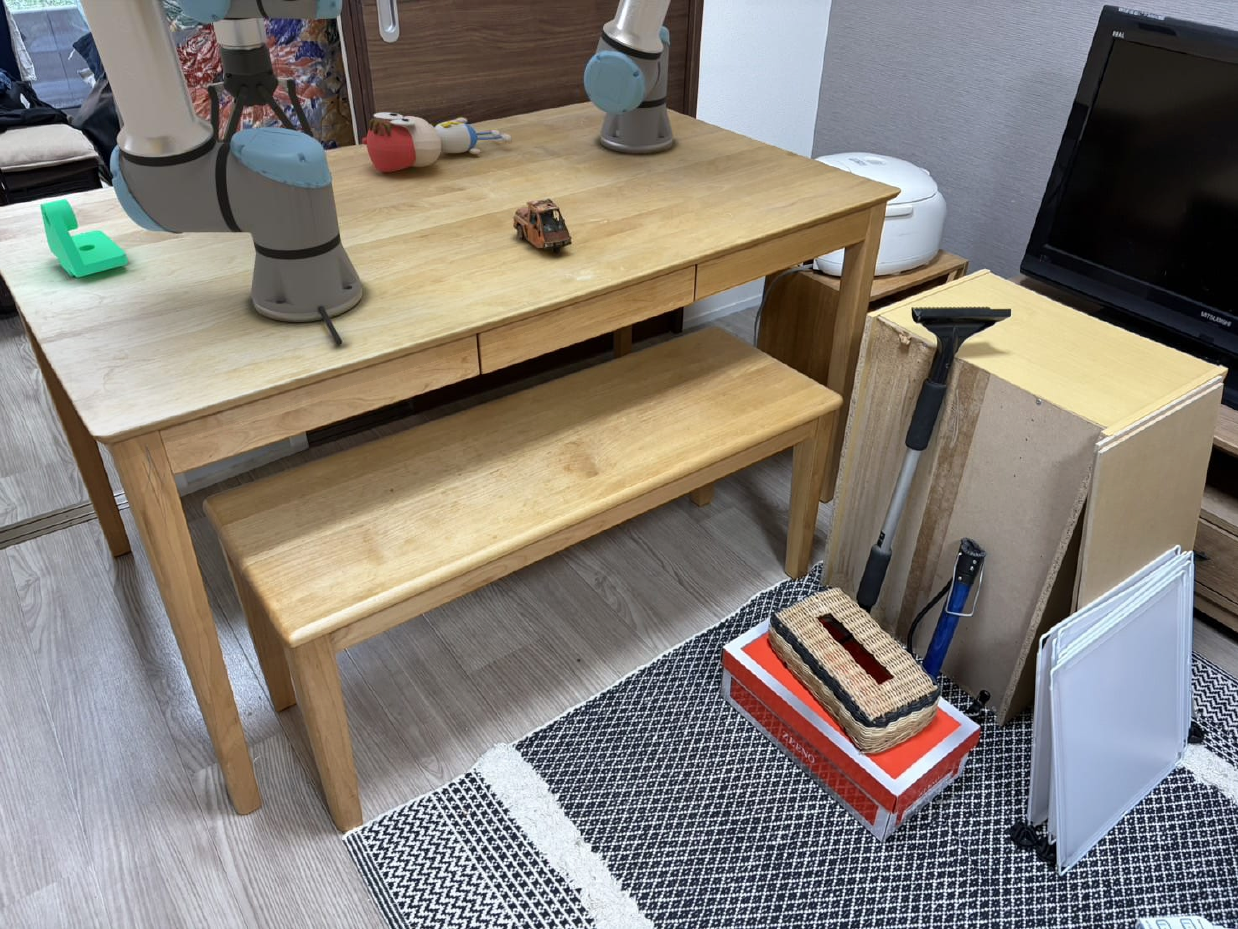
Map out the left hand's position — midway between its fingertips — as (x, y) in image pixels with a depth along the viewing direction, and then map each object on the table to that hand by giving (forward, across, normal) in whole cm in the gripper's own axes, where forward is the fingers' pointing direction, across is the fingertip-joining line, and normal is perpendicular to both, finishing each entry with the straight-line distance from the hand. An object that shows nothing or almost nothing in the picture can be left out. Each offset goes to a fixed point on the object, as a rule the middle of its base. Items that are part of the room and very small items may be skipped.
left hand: (271, 183), depth 161 cm
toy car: (+4, -38, +32) cm, 50 cm away
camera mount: (+4, +29, +16) cm, 33 cm away
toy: (+4, -33, -14) cm, 36 cm away
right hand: (-25, -38, -23) cm, 51 cm away
